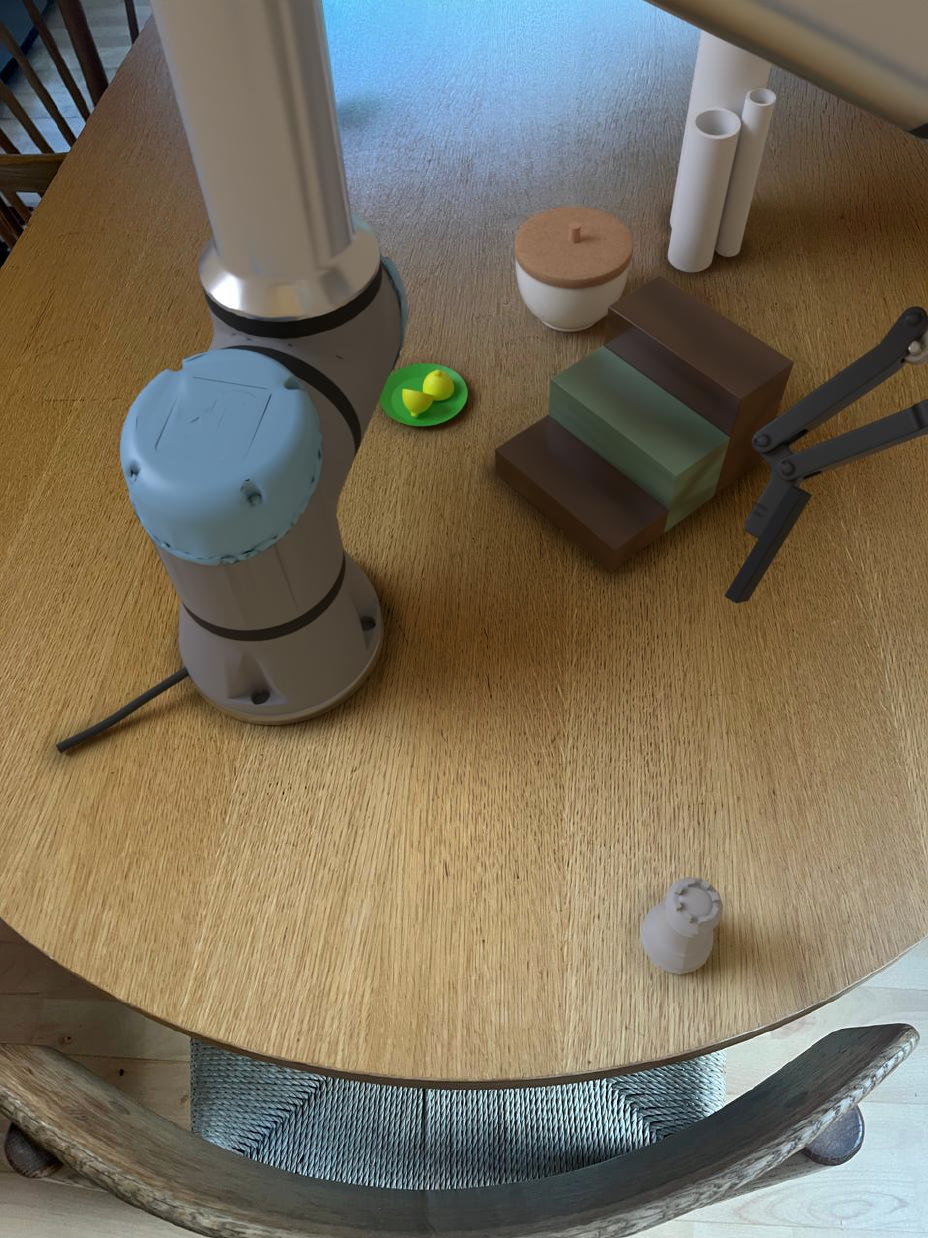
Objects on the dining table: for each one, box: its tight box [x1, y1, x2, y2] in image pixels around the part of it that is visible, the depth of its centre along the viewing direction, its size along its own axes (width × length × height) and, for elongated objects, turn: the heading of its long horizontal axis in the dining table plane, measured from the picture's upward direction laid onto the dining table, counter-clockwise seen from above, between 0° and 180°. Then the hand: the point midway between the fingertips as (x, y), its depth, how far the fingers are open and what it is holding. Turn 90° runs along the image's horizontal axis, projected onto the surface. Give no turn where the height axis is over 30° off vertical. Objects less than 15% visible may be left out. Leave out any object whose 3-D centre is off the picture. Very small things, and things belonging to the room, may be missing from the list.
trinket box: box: [514, 205, 634, 333], centre depth 91 cm, size 11×11×9 cm
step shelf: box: [494, 274, 795, 574], centre depth 79 cm, size 18×14×11 cm
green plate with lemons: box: [378, 362, 468, 427], centre depth 88 cm, size 8×8×3 cm
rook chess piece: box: [640, 876, 724, 975], centre depth 58 cm, size 4×4×8 cm
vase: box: [667, 29, 777, 273], centre depth 92 cm, size 11×7×20 cm, turn 172°
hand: (852, 668), depth 50 cm, fingers open, 13 cm apart
